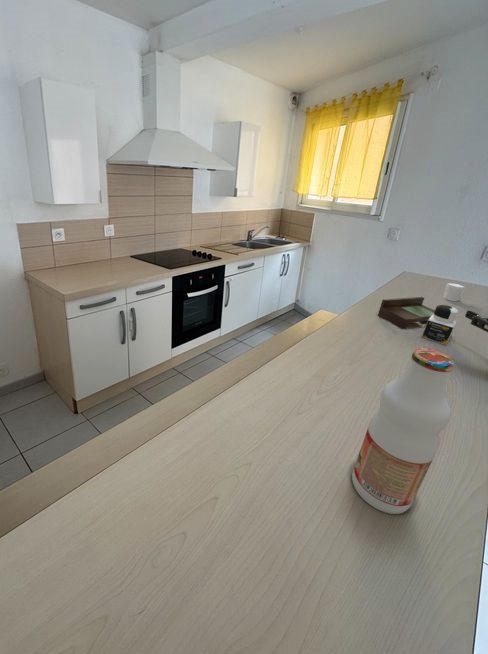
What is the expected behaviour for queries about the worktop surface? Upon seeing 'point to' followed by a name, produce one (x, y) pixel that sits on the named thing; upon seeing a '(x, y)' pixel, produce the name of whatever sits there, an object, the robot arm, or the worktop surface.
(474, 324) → the robot arm
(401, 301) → the dark wooden tray
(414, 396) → the fruit juice
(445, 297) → the white cylinder
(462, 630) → the worktop surface
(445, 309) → the medicine bottle
